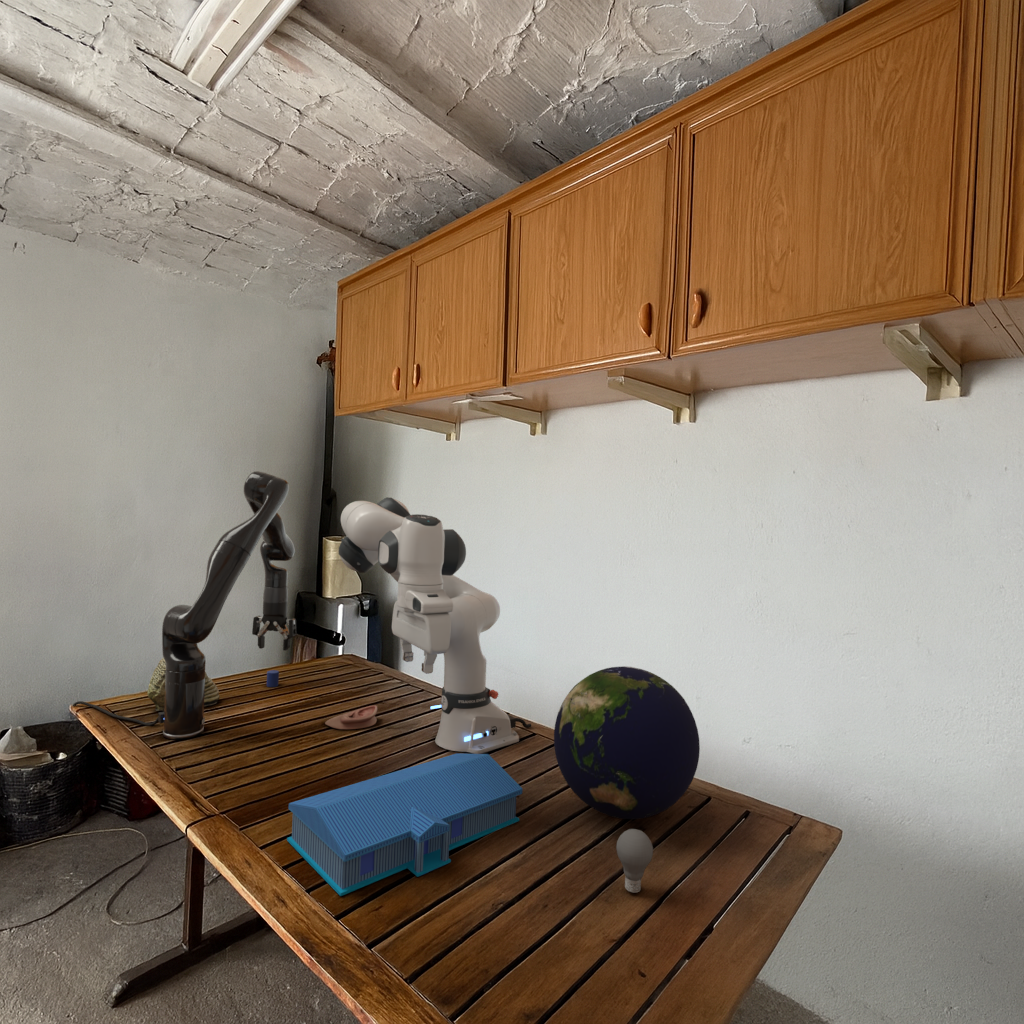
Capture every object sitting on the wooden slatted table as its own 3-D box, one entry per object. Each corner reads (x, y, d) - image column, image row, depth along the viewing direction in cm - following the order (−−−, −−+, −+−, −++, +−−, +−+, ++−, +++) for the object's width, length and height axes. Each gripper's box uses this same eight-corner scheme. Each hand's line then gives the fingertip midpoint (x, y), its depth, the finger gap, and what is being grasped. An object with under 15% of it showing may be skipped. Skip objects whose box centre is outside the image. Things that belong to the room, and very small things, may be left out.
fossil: (144, 707, 182) (145, 655, 182) (212, 696, 194) (213, 647, 194) (151, 716, 175) (153, 662, 175) (221, 703, 188) (223, 653, 188)
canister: (266, 684, 209) (267, 670, 209) (278, 683, 211) (279, 669, 210) (266, 687, 206) (266, 673, 206) (278, 687, 207) (278, 672, 207)
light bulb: (610, 879, 108) (613, 822, 108) (644, 879, 109) (647, 822, 109) (619, 902, 102) (622, 840, 102) (655, 901, 103) (658, 840, 103)
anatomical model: (320, 712, 173) (339, 699, 184) (319, 726, 173) (339, 713, 184) (365, 717, 170) (382, 704, 181) (364, 732, 170) (381, 718, 181)
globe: (530, 827, 125) (537, 675, 124) (573, 769, 152) (579, 645, 152) (686, 866, 113) (694, 700, 113) (702, 796, 141) (709, 663, 141)
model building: (350, 906, 98) (352, 842, 98) (285, 839, 117) (287, 785, 116) (531, 827, 125) (533, 776, 125) (455, 782, 143) (457, 738, 143)
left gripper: (301, 599, 210) (299, 648, 211) (261, 596, 213) (259, 644, 213) (290, 603, 203) (288, 653, 203) (248, 600, 205) (247, 650, 205)
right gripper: (385, 590, 132) (383, 656, 133) (426, 606, 115) (423, 681, 115) (413, 589, 136) (411, 653, 136) (457, 604, 118) (454, 678, 119)
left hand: (273, 649), depth 208 cm, fingers open, 8 cm apart
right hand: (417, 666), depth 126 cm, fingers open, 8 cm apart
